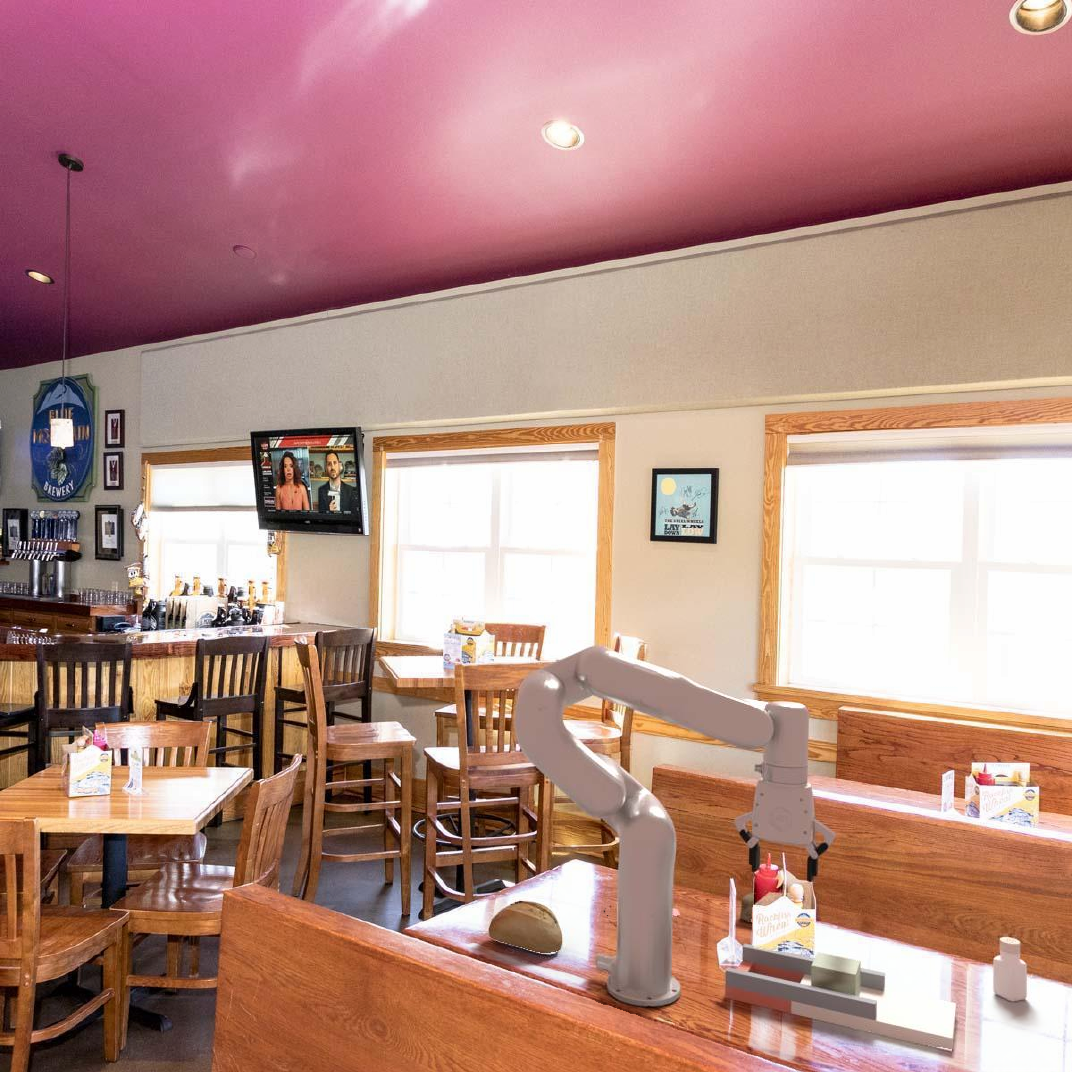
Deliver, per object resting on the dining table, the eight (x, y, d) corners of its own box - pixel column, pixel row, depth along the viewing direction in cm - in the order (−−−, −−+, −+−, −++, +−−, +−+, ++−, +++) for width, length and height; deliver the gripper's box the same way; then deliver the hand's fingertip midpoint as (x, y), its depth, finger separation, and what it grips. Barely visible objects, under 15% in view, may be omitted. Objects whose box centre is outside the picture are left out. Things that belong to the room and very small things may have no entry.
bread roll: (501, 931, 179) (502, 890, 179) (571, 945, 173) (572, 903, 173) (479, 949, 170) (480, 906, 171) (552, 964, 164) (553, 920, 165)
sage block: (811, 995, 150) (811, 965, 150) (817, 981, 155) (817, 952, 155) (855, 1006, 146) (855, 974, 147) (860, 991, 152) (860, 961, 152)
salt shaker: (1012, 1003, 153) (1012, 946, 153) (991, 993, 157) (991, 937, 157) (1028, 999, 155) (1028, 943, 155) (1007, 989, 158) (1008, 934, 159)
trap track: (725, 997, 153) (725, 970, 153) (744, 968, 164) (744, 943, 164) (952, 1051, 137) (952, 1021, 137) (955, 1015, 148) (956, 987, 148)
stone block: (794, 934, 181) (794, 909, 181) (738, 922, 187) (738, 898, 187) (800, 924, 186) (800, 900, 187) (745, 913, 192) (745, 890, 192)
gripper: (730, 771, 157) (727, 871, 156) (833, 785, 149) (831, 890, 148) (740, 764, 164) (738, 860, 163) (840, 776, 156) (838, 877, 155)
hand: (782, 874), depth 156 cm, fingers open, 9 cm apart
